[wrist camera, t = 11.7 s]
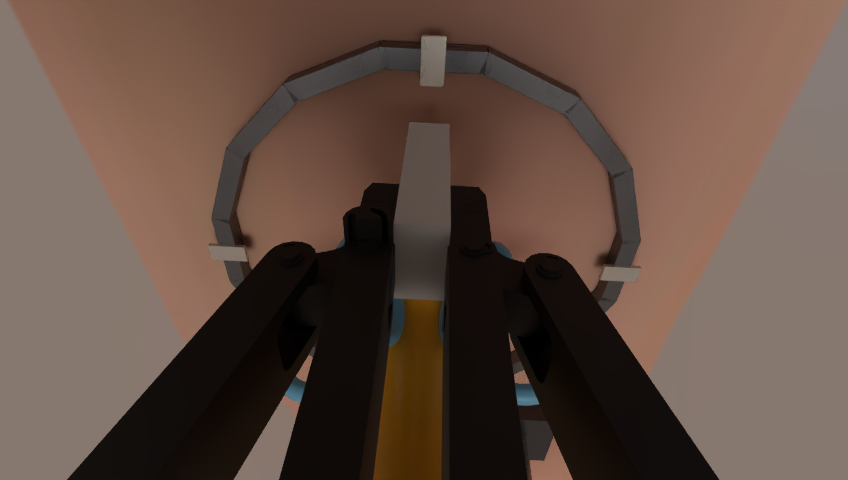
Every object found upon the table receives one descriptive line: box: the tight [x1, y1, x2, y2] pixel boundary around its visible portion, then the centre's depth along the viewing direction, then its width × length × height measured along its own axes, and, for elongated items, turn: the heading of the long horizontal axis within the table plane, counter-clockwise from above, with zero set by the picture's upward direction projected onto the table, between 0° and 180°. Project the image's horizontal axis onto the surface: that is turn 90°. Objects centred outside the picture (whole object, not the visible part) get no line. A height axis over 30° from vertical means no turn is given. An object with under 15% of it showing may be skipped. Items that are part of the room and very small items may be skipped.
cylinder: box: [285, 239, 539, 480], centre depth 18 cm, size 12×10×15 cm
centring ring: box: [208, 34, 642, 374], centre depth 24 cm, size 21×21×1 cm
